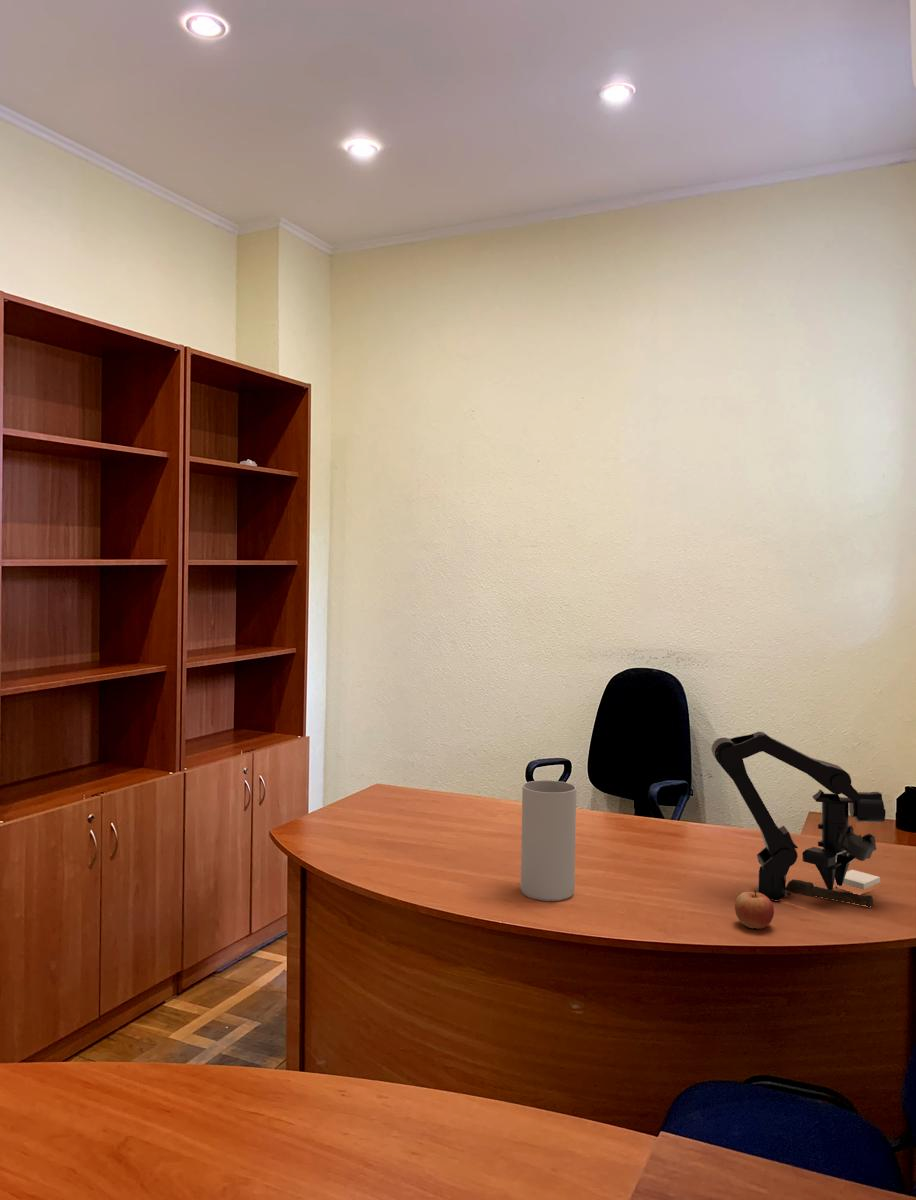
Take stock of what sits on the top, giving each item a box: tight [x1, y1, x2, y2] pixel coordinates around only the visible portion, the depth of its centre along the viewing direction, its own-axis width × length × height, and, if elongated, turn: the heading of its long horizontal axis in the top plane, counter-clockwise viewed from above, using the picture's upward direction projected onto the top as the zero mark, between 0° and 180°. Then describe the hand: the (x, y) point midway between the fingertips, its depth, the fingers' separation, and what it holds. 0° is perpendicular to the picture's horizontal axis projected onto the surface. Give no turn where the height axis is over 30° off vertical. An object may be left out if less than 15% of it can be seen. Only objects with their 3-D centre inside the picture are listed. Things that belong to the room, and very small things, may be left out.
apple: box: [734, 888, 775, 930], centre depth 193 cm, size 8×8×8 cm
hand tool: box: [785, 878, 874, 907], centre depth 210 cm, size 19×4×5 cm, turn 55°
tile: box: [843, 869, 881, 890], centre depth 220 cm, size 2×7×8 cm
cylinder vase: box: [520, 779, 577, 902], centre depth 211 cm, size 12×12×25 cm
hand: (834, 887), depth 210 cm, fingers open, 4 cm apart
